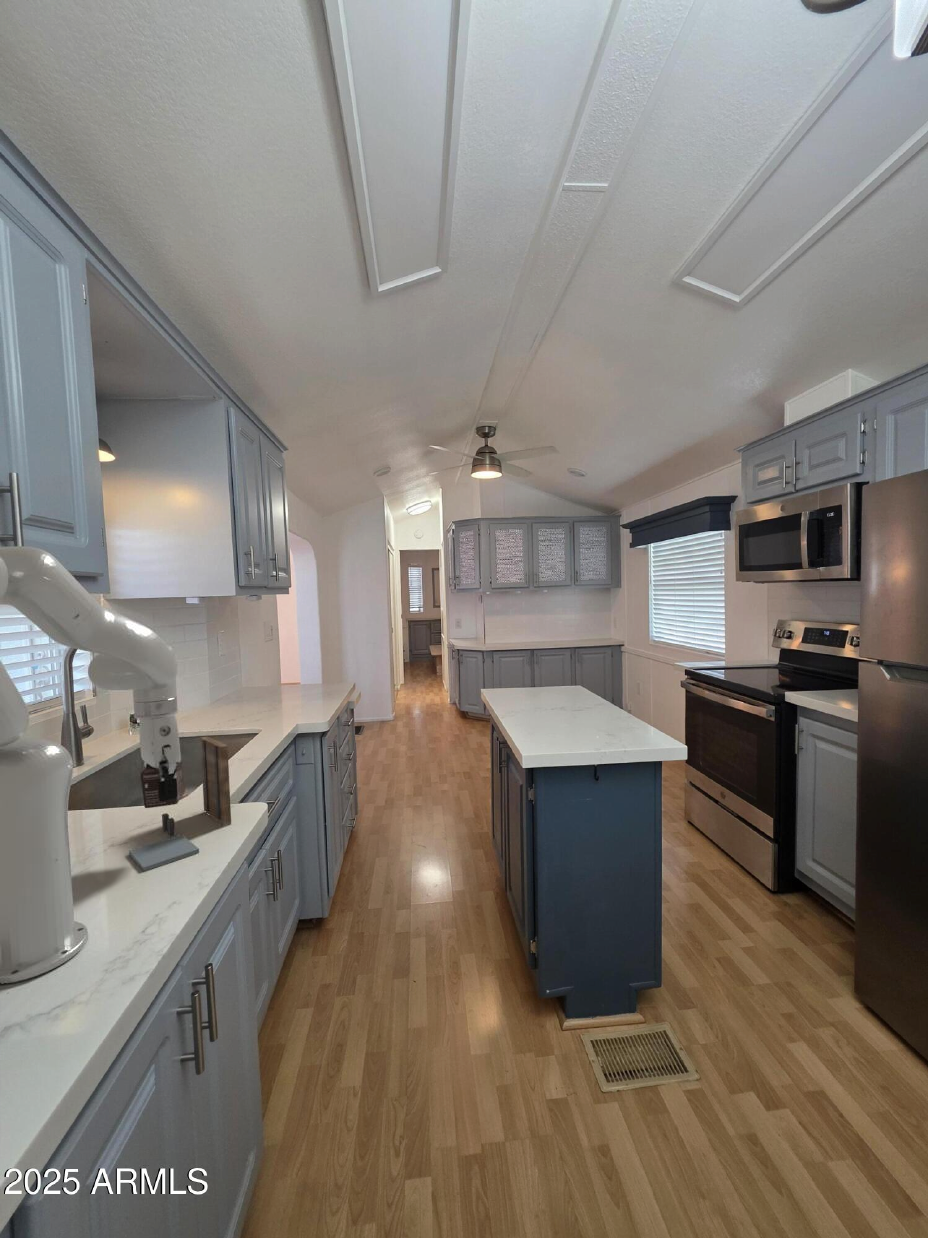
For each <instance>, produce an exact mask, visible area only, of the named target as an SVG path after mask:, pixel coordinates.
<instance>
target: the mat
mask: <svg viewBox="0 0 928 1238" xmlns="http://www.w3.org/2000/svg"><path fill="white" fill-rule="evenodd" d="M199 853H200V848H198V846H196V845H195V844H194V842H192V841H191V840H190V839H188V838H187V837H186V836H185V835H183V834H182V833H181V834H178V835H174V836H171V837H168V838H165V839H162V840H159V841H155V842H153V843H150V844H146V845H142V846H139V847H137V848H133V849H130V850H128V856H129V857H130V858H131V859H132V860H133V862H134V863H135V864H136V865H137V866H138V868H140V870H142V872H147V871H151V870H153V869H155V868H159V867H162V866H164V865H167V864H171V863H173V862H177V861H179V860H181V859H185V858H188V857H191V856H194V855H196V854H199Z"/></svg>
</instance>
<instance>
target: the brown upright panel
mask: <svg viewBox="0 0 928 1238" xmlns="http://www.w3.org/2000/svg"><path fill="white" fill-rule="evenodd" d="M228 746H229V745H227V744H225V743H223V742H221V741H219V740H216V739H214V738H211V737H209V736H203V737H200V755H201V757H200V760H201V775H202V792H203V793H202V795H203V797H202V799H203V812H204V811H206V813H208V814H209V815H210V816H209V815H208V814H207V815H208V816H209V817H211V818H212V819H213V818H214V821H216V822H218V823H219V824H220V825H222V826H223V827H226V826H229V825H232V812H231V809H232V808H231V807H232V806H231V790H230V789H231V788H230V786H231V785H230V769H229V768H230V767H229V765H230V764H229V749H228V748H229V747H228ZM206 813H205V814H206ZM161 823H162V824H161V825H162V826H161V827H162V831H163V832H164V833H166V832H167V835H168V837H169V838H171V837H174V836H176V827H175V826H176V825H175V824H176V823H175V818H173V817H171V818H170V815H169V813H167V812H166V813H163V814H161Z"/></svg>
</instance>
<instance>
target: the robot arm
mask: <svg viewBox="0 0 928 1238" xmlns="http://www.w3.org/2000/svg"><path fill="white" fill-rule="evenodd" d="M0 605H7V606H12V607H13V608H15V609H16V610H17V611H18V612H19V613H21V614H22V615H23V616H25V617H26V618H27V619H28V620H29V621H30V622H32V623H33V624H34V625H35V626H36V627H37V628H38V629H39V630H41V632H43V633H45V634H46V636H47V637H49V638H50V639H51V640H52V641H54V642H55V643H58V644H59V645H62V646H65V647H68V648H72V649H76V650H79V651H83V652H88V653H89V652H90V653H94V654H95V653H96V655H95V656H94V657H93V658H92V659H91V660H90V662H89V665H88V669H87V676H88V678H89V680H90V682H91V684H93V685H94V686H96V687H97V688H100V689H102V690H105V691H106V690H107V691H132V700H133V701H132V702H133V717H134V719H137V720H138V719H139V723H138V724H139V747H140V748H139V749H140V756H141V759H142V760H143V762H144V763H143V770H144V769H145V768H146V767H147V766H148V765H150V766H152V767H154V768H157V771H158V775H159V779H160V781H158V794H159V801H161V802H162V801H166V800H169V799H173V798H176V797H177V796H178V794H177V774H176V764H179V763H180V762H181V760H182V755H181V743H180V736H179V735H180V734H179V729H178V728H179V727H178V722H177V717H176V715H177V714H178V712H179V711H178V709H179V708H178V694H177V673H178V664H177V660H176V657H175V651H174V648H173V647H172V646H170V645H168V644H167V643H165V642H164V640H163V639H162V638H161V637H160V636H159V635H158V634H157V633H156V632H155V631H153V630H152V629H151V628H149V627H148V626H145V625H144V624H142V623H139V622H137V621H135V620H134V619H131V618H129V617H127V616H125V615H122V614H121V613H119V612H117V611H115V610H112V609H109V608H106V607H105V606H103V605H101V604H100V603H99V602H98V601H97V600H96V599H95V598H94V596H93V595H91V594H90V593H89V592H88V590H86V589H85V587H84V586H82V584H81V583H80V582H79V581H78V580H77V579H76V578H75V576H74V575H72V574H71V572H69V571H68V570H67V569H66V568H65V567H64V565H63V564H62V563H61V562H60V561H59V560H58V559H57V558H56V557H55V556H53V555H52V554H51V553H50V552H48V551H46V550H44V549H41V548H39V547H35V546H27V545H26V546H23V545H20V546H19V545H18V546H17V545H16V546H14V545H13V546H0ZM29 725H30V713H29V709H28V707H27V704H26V702H25V700H24V698H23V696H22V694H21V693H20V691H19V690H18V688H17V686H16V685H15V683H14V681H13V679H12V677H11V676H10V674H9V673H8V671H7V669H6V668H5V666H4V664H3V663H2V661H1V660H0V983H1V984H0V985H2V984H4V983H6V984H10V983H17V982H21V981H25V980H29V979H30V978H31V979H32V978H35V977H37V976H40V975H42V974H45V973H47V972H49V971H52V970H53V969H55V968H57V967H59V966H61V965H62V964H64V963H66V962H67V961H69V960H70V959H72V958H73V957H75V956H76V954H78V953H79V952H80V951H81V950H82V949H83V948H84V946H85V945H86V943H87V941H88V938H89V937H88V936H89V935H88V927H87V925H85V924H83V923H82V922H79V921H75V915H74V914H75V912H74V896H73V884H72V883H73V882H72V881H73V880H72V868H71V864H72V863H71V852H70V850H71V849H70V838H69V837H70V836H69V818H68V817H69V814H68V813H69V811H68V810H69V797H70V790H71V786H72V778H73V773H74V762H73V761H74V760H73V758H72V755H71V753H70V752H69V750H67V748H65V746H63V745H61V744H60V743H58V742H55V741H53V740H49V739H48V740H47V739H41V738H22V737H23V736H24V734H25V733H26V731H27V729H28V727H29ZM163 762H166V763H165V764H161V765H160V763H163ZM164 768H167V769H165V770H164V773H163V771H162V769H164Z"/></svg>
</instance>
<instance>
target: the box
mask: <svg viewBox="0 0 928 1238" xmlns="http://www.w3.org/2000/svg"><path fill="white" fill-rule="evenodd" d="M165 763H166V762H163V763H160V765H161V764H165ZM165 769H167V768H164V769H162V771H163V773H164V770H165ZM176 774H177V794H178V796H177V797H176V798H173V799H169V800H166V801H162V802H161V801H159V794H158V781H160V779H159V775H158V771H157V768H154V767H152V766H150V765H148V766H147V767H146V768H145V769H144V768H143V770H142V771H141V772H140V781H141V788H142V789H141V791H142V796H143V797H142V798H143V804H144V806H143V807H144V808H145V809H151V808H152V809H153V808H159V807H166V806H172V805H173V806H174V805H178V803H179V802H180V801H181V798H182V797H183V796H184V795H185V793H186V787H185V779H184V767H183V761H182V759H181V762H180V763H179V764H176Z"/></svg>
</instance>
